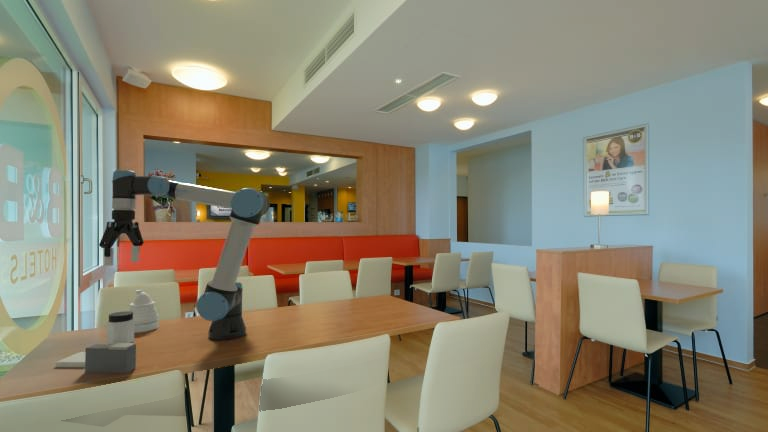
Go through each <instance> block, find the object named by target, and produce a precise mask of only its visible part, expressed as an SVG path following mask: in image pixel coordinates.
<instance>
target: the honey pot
mask: <svg viewBox="0 0 768 432" xmlns="http://www.w3.org/2000/svg"><path fill="white" fill-rule="evenodd" d="M134 293H135V294H136V295H137V296H136V297H135V299H134V300H133V302H131V303H129V305H128V306H129V307H130V308H129V311H131V312H133V318H134V334H137V333H144V332H145V333H146V332H149V331H154V330H157V329H158V328H159V322H160V321H159V319H160V318H159V314H158V311H157V308H156V307H155V304H156V301H154V300H153V299H152V298H151V296H150V295H149V294H148V293H146V292H144V291H142V289H135V290H134Z"/></svg>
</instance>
